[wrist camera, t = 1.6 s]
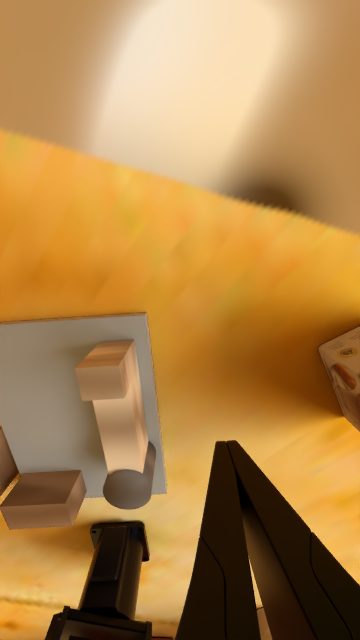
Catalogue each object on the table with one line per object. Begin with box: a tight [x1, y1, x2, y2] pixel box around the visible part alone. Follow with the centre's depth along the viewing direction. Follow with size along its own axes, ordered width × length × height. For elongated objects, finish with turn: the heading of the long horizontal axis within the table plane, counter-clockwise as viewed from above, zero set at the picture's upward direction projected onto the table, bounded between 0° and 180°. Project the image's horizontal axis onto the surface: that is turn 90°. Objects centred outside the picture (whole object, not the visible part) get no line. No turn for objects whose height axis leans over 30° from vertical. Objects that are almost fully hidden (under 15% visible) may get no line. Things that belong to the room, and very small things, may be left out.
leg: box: [74, 340, 156, 509], centre depth 16 cm, size 14×4×4 cm, turn 4°
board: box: [0, 312, 167, 498], centre depth 20 cm, size 20×15×1 cm
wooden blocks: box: [0, 427, 87, 530], centre depth 20 cm, size 8×10×4 cm
